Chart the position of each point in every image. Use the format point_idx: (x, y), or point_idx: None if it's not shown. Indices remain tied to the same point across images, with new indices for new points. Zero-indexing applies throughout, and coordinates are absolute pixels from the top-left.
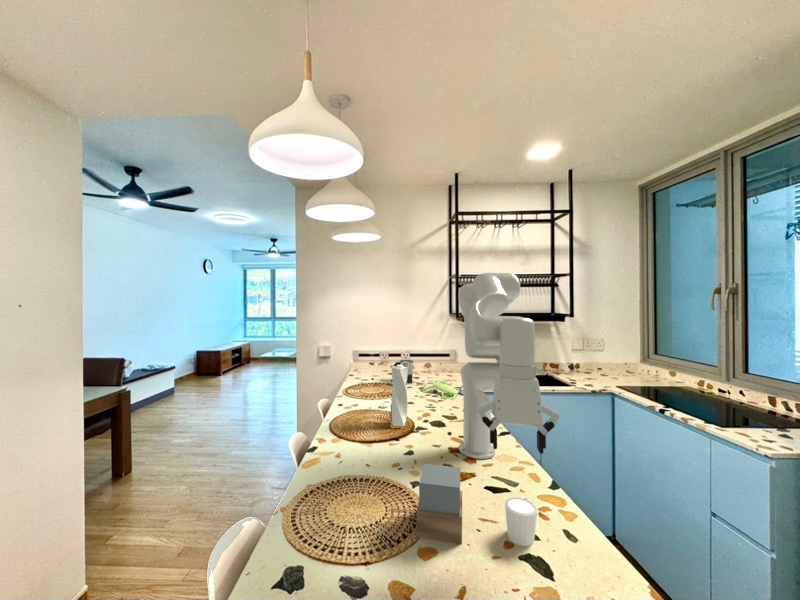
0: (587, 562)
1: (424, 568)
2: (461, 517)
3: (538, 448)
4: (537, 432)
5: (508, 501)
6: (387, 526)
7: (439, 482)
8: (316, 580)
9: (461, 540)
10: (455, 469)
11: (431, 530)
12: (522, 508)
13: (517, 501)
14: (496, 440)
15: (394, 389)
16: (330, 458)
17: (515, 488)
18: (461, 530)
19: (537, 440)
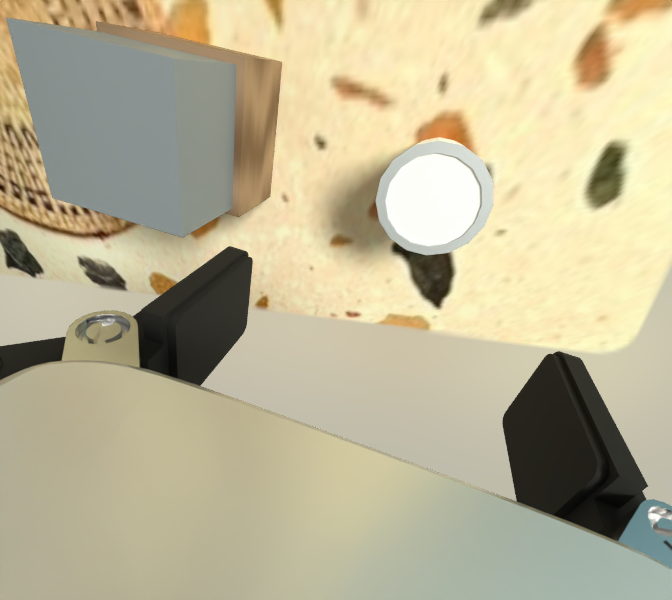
0: (562, 276)
1: (198, 255)
2: (237, 216)
3: (524, 403)
4: (579, 483)
5: (396, 173)
6: None
7: (112, 198)
8: (50, 261)
9: (265, 199)
10: (153, 81)
11: None
12: (431, 215)
13: (434, 171)
14: (213, 363)
15: None
16: None
17: None
18: (254, 205)
19: (554, 417)
